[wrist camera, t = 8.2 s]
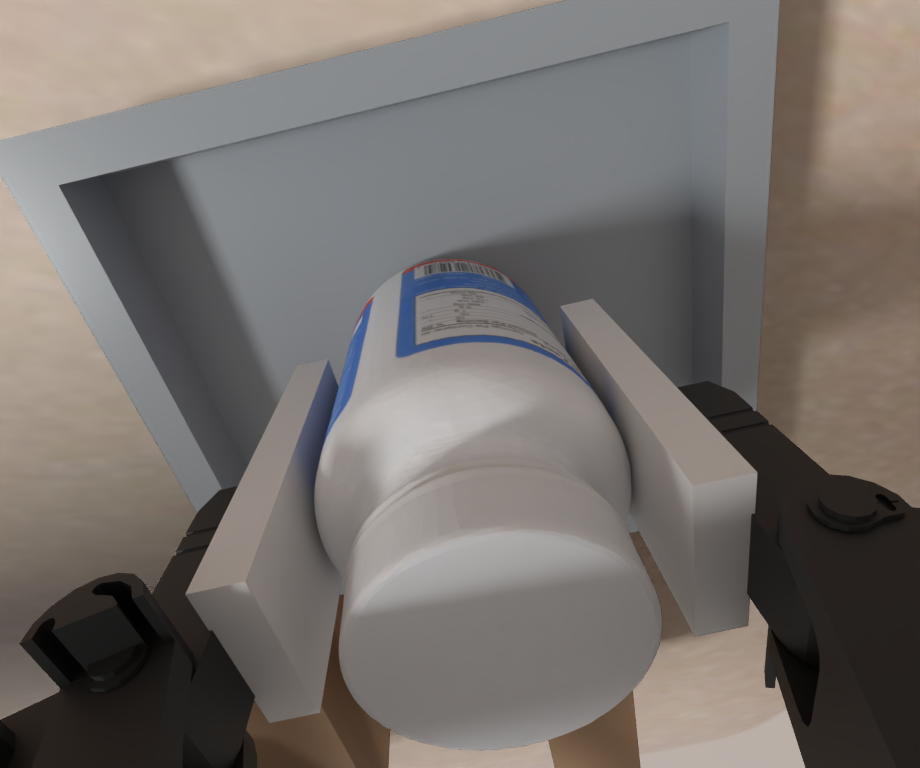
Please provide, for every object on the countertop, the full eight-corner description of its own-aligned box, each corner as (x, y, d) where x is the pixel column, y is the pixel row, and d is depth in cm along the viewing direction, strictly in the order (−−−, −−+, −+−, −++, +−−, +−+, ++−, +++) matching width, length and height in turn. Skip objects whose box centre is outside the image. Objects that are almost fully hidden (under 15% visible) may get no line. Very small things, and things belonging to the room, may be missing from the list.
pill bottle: (437, 458, 17) (459, 827, 8) (312, 338, 15) (161, 663, 6) (580, 356, 15) (788, 663, 7) (466, 208, 13) (558, 380, 5)
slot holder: (326, 713, 24) (307, 836, 20) (246, 571, 19) (201, 690, 15) (602, 656, 23) (640, 770, 19) (580, 500, 19) (623, 602, 15)
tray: (273, 555, 19) (255, 613, 17) (58, 139, 13) (-18, 144, 10) (711, 460, 19) (750, 507, 16) (716, -23, 12) (782, -54, 10)
